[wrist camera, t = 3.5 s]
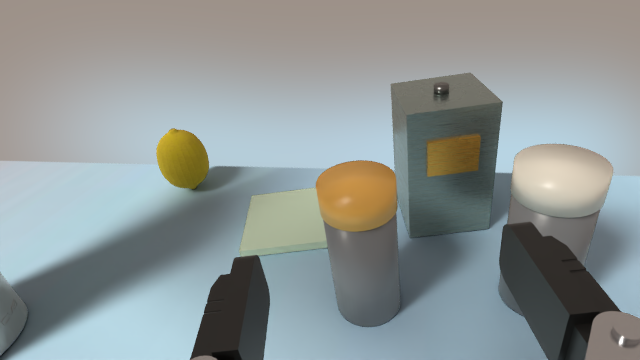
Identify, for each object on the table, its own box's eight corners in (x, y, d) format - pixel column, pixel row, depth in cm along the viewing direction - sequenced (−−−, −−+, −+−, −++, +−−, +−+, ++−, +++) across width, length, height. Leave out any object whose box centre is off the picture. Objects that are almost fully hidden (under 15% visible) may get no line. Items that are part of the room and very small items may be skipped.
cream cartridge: (513, 325, 27) (538, 193, 21) (486, 272, 31) (500, 149, 26) (589, 318, 27) (635, 181, 21) (552, 265, 31) (581, 139, 25)
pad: (241, 257, 37) (239, 251, 36) (253, 201, 44) (251, 195, 44) (338, 246, 36) (337, 239, 36) (333, 191, 44) (332, 185, 44)
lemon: (193, 173, 52) (173, 116, 48) (225, 180, 49) (206, 121, 45) (161, 196, 48) (135, 137, 44) (194, 205, 46) (170, 143, 41)
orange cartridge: (337, 331, 29) (315, 209, 23) (334, 279, 33) (315, 165, 27) (407, 324, 28) (403, 198, 23) (395, 273, 33) (389, 156, 27)
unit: (410, 240, 36) (407, 108, 29) (395, 192, 42) (389, 76, 35) (490, 230, 35) (505, 95, 29) (462, 184, 42) (469, 64, 35)
